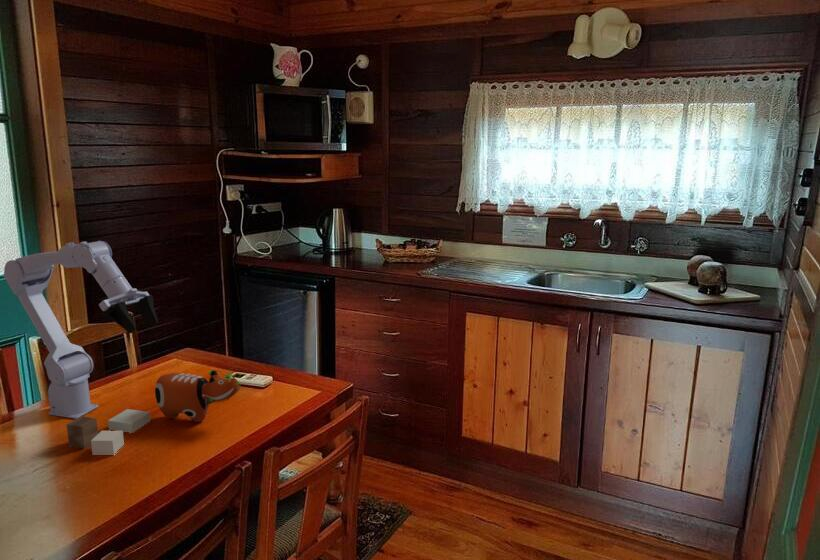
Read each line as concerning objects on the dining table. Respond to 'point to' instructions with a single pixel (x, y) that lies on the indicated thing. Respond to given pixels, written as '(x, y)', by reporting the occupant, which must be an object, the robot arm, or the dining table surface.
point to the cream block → (107, 442)
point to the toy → (191, 393)
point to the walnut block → (82, 432)
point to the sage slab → (129, 420)
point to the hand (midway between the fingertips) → (144, 327)
